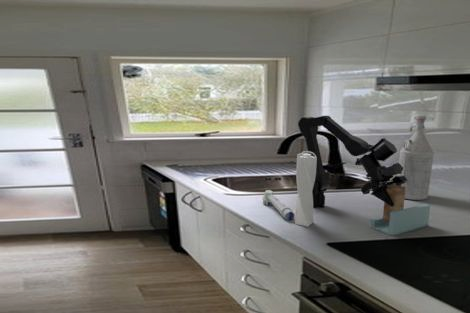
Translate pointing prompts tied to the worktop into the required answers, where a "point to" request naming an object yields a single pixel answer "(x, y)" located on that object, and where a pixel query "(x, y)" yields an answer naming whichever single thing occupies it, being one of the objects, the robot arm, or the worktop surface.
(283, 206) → the syringe
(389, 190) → the walnut box
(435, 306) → the worktop surface
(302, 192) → the skyscraper
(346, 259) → the worktop surface
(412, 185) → the white bottle
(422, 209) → the backboard channel
